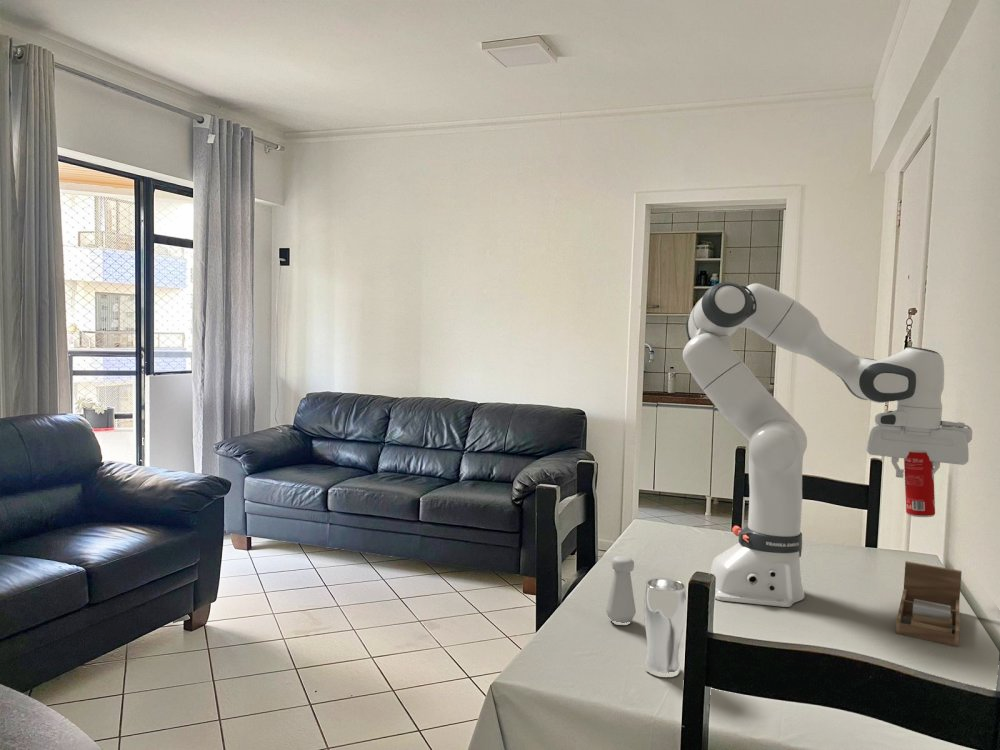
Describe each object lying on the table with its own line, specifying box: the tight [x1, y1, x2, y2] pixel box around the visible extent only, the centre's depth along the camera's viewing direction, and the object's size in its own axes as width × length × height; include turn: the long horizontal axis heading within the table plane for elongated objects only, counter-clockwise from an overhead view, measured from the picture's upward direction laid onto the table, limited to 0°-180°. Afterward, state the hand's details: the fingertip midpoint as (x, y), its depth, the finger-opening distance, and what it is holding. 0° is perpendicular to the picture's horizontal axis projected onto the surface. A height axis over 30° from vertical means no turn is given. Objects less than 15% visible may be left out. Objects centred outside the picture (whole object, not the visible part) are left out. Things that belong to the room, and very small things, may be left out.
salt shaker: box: [605, 555, 637, 623], centre depth 143 cm, size 6×6×13 cm
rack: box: [895, 560, 962, 647], centre depth 148 cm, size 21×10×9 cm, turn 147°
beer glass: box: [643, 577, 687, 673], centre depth 123 cm, size 7×7×15 cm
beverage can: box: [903, 451, 936, 518], centre depth 165 cm, size 6×6×15 cm
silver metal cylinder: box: [910, 599, 953, 634], centre depth 145 cm, size 5×7×5 cm
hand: (914, 479), depth 165 cm, fingers closed on beverage can, 4 cm apart
